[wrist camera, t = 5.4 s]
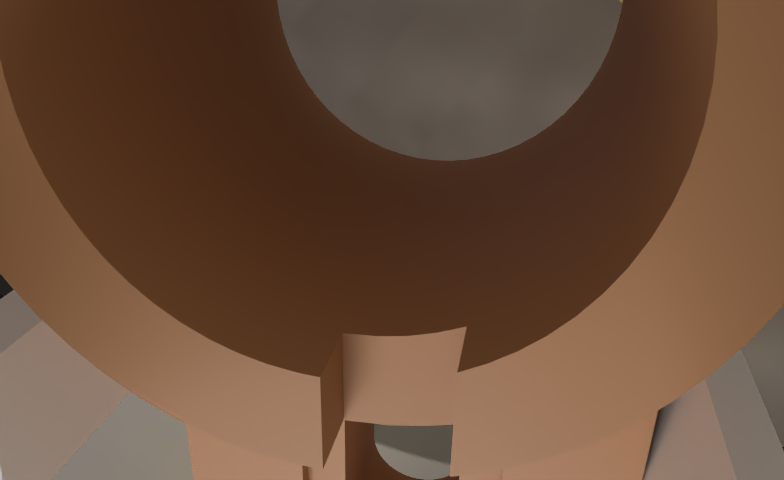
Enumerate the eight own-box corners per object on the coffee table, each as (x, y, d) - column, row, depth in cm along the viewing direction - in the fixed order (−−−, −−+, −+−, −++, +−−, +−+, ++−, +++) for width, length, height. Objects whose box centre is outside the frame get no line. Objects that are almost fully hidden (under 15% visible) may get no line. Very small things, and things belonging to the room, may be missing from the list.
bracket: (187, -300, 11) (-297, -587, 5) (766, -321, 9) (1183, -783, 3) (259, 541, 18) (113, 854, 12) (582, 602, 17) (600, 992, 11)
